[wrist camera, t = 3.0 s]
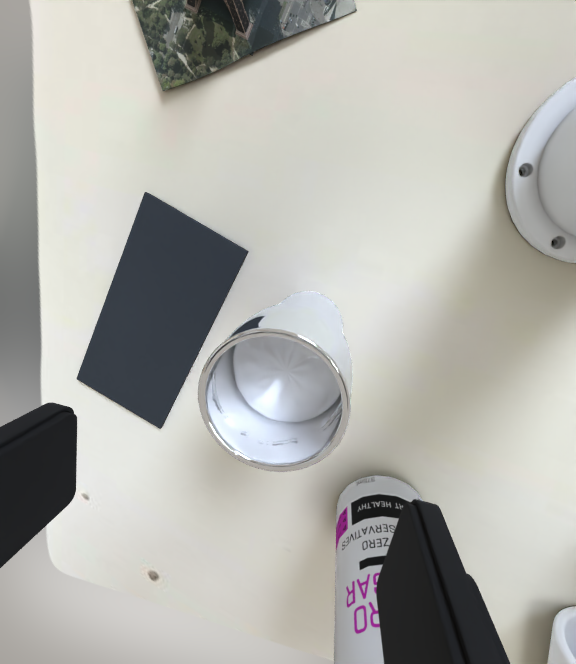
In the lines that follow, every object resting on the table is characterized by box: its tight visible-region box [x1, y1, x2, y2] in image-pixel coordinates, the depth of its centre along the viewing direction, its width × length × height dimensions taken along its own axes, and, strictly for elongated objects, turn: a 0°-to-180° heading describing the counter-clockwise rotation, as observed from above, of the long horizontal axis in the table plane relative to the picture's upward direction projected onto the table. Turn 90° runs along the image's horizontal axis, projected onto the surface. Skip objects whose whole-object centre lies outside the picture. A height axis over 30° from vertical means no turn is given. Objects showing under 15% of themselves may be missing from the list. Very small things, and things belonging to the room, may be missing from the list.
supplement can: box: [334, 475, 422, 664], centre depth 24 cm, size 8×8×15 cm
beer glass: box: [198, 291, 353, 472], centre depth 20 cm, size 7×7×15 cm
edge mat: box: [77, 192, 248, 428], centre depth 30 cm, size 20×10×1 cm, turn 151°
